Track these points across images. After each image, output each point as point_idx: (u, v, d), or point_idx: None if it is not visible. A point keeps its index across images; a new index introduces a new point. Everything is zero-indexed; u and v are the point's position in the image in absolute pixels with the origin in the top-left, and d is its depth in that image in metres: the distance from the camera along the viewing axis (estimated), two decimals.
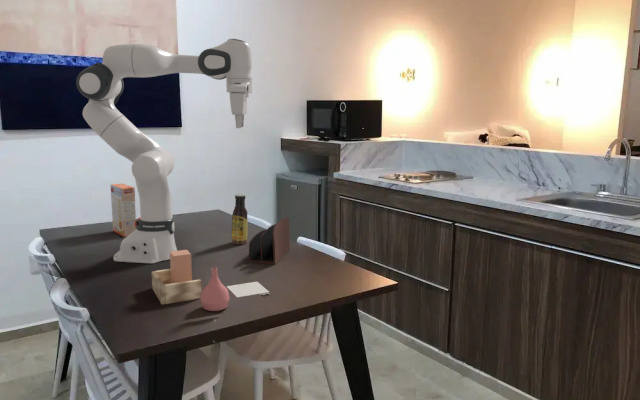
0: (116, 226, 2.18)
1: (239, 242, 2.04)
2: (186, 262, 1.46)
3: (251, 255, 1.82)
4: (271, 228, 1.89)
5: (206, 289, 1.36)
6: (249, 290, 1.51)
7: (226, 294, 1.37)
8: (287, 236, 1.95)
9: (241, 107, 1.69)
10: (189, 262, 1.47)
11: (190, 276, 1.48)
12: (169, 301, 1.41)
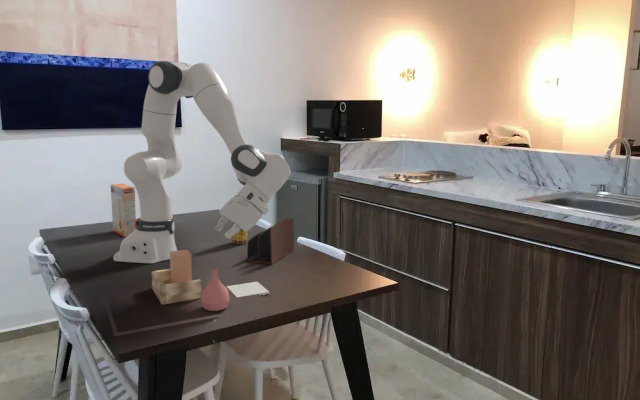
0: (116, 226, 2.18)
1: (239, 242, 2.04)
2: (186, 262, 1.46)
3: (250, 254, 1.83)
4: None
5: (206, 289, 1.36)
6: (249, 290, 1.51)
7: (226, 294, 1.37)
8: (291, 236, 1.94)
9: (251, 225, 1.46)
10: (189, 262, 1.47)
11: (190, 276, 1.48)
12: (169, 301, 1.41)
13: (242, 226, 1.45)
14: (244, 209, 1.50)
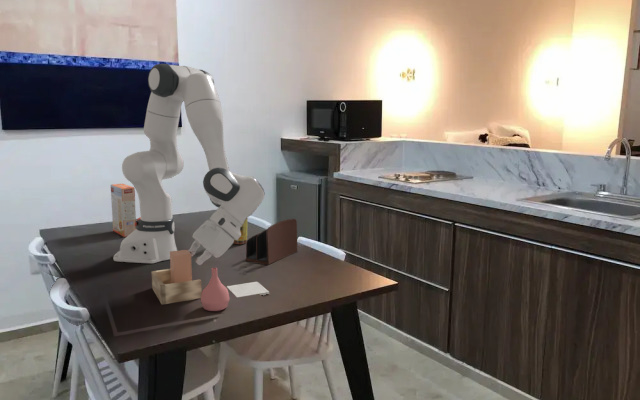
0: (116, 226, 2.18)
1: (239, 242, 2.04)
2: (186, 262, 1.46)
3: (249, 253, 1.84)
4: None
5: (206, 289, 1.36)
6: (249, 290, 1.51)
7: (226, 294, 1.37)
8: (293, 237, 1.93)
9: (223, 252, 1.43)
10: (189, 262, 1.47)
11: (190, 276, 1.48)
12: (169, 301, 1.41)
13: (213, 253, 1.42)
14: (216, 235, 1.47)
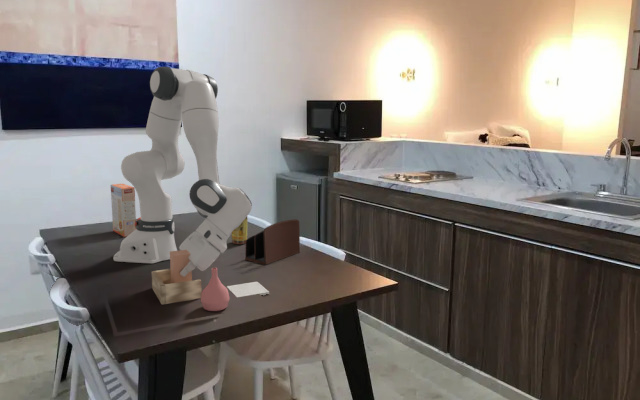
0: (116, 226, 2.18)
1: (239, 242, 2.04)
2: (186, 262, 1.46)
3: (249, 253, 1.85)
4: None
5: (206, 289, 1.36)
6: (249, 290, 1.51)
7: (226, 294, 1.37)
8: (295, 238, 1.91)
9: (208, 265, 1.42)
10: None
11: (190, 276, 1.48)
12: (169, 301, 1.41)
13: (198, 266, 1.41)
14: (201, 247, 1.45)
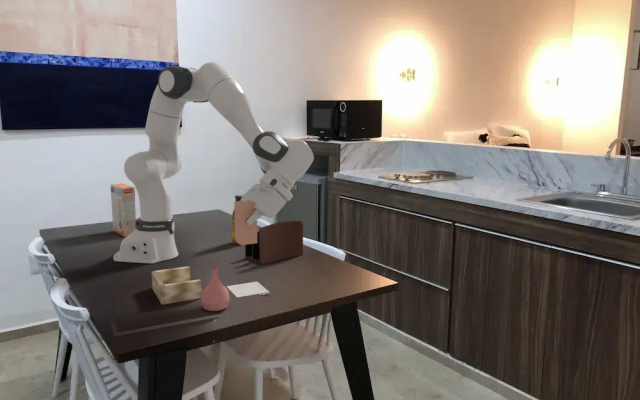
0: (116, 226, 2.18)
1: None
2: (252, 211, 1.47)
3: (249, 251, 1.86)
4: None
5: (206, 289, 1.36)
6: (249, 290, 1.51)
7: (226, 294, 1.37)
8: (297, 239, 1.89)
9: (276, 212, 1.42)
10: None
11: (255, 225, 1.48)
12: (169, 301, 1.41)
13: (266, 213, 1.41)
14: (267, 196, 1.46)
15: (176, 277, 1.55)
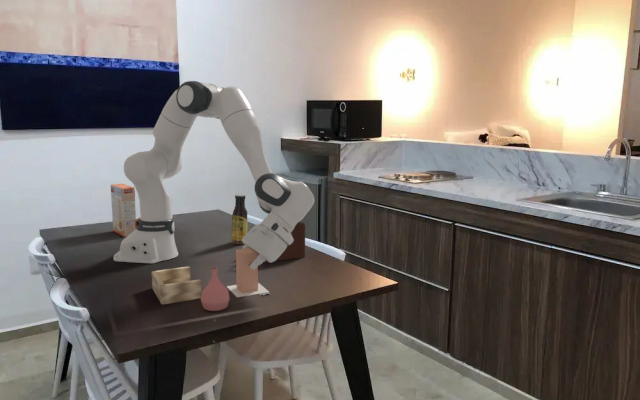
0: (116, 226, 2.18)
1: (239, 242, 2.04)
2: (253, 259, 1.50)
3: None
4: None
5: (206, 289, 1.36)
6: None
7: (226, 294, 1.37)
8: (299, 241, 1.87)
9: (277, 257, 1.45)
10: None
11: (256, 273, 1.51)
12: (169, 301, 1.41)
13: (267, 258, 1.43)
14: (269, 240, 1.48)
15: (176, 277, 1.55)
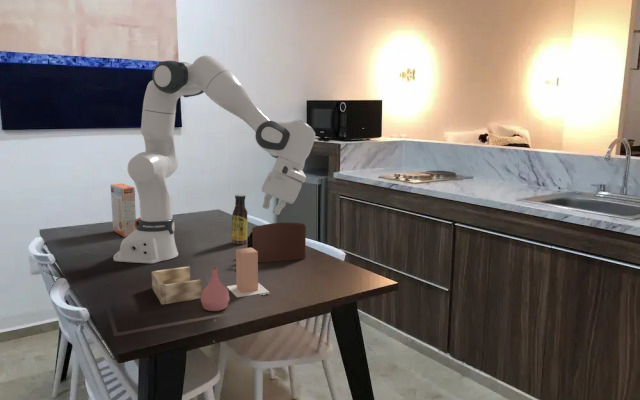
0: (116, 226, 2.18)
1: (239, 242, 2.04)
2: (253, 259, 1.50)
3: None
4: None
5: (206, 289, 1.36)
6: None
7: (226, 294, 1.37)
8: (299, 242, 1.85)
9: (295, 197, 1.52)
10: (256, 260, 1.50)
11: (256, 273, 1.51)
12: (169, 301, 1.41)
13: (287, 200, 1.51)
14: (283, 183, 1.55)
15: (176, 277, 1.55)
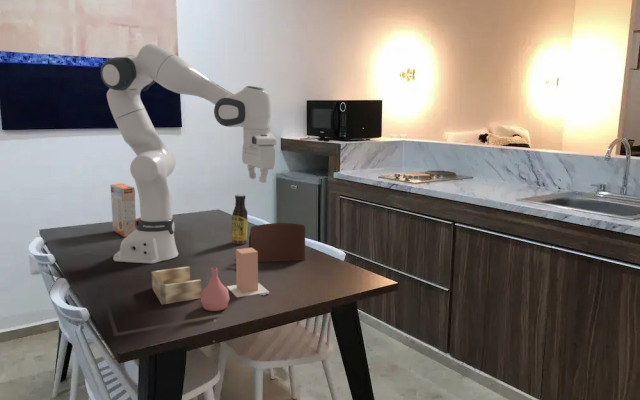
0: (116, 226, 2.18)
1: (239, 242, 2.04)
2: (253, 259, 1.50)
3: None
4: None
5: (206, 289, 1.36)
6: None
7: (226, 294, 1.37)
8: (298, 243, 1.84)
9: (273, 161, 1.57)
10: (256, 260, 1.50)
11: (256, 273, 1.51)
12: (169, 301, 1.41)
13: (267, 168, 1.56)
14: (258, 152, 1.59)
15: (176, 277, 1.55)
